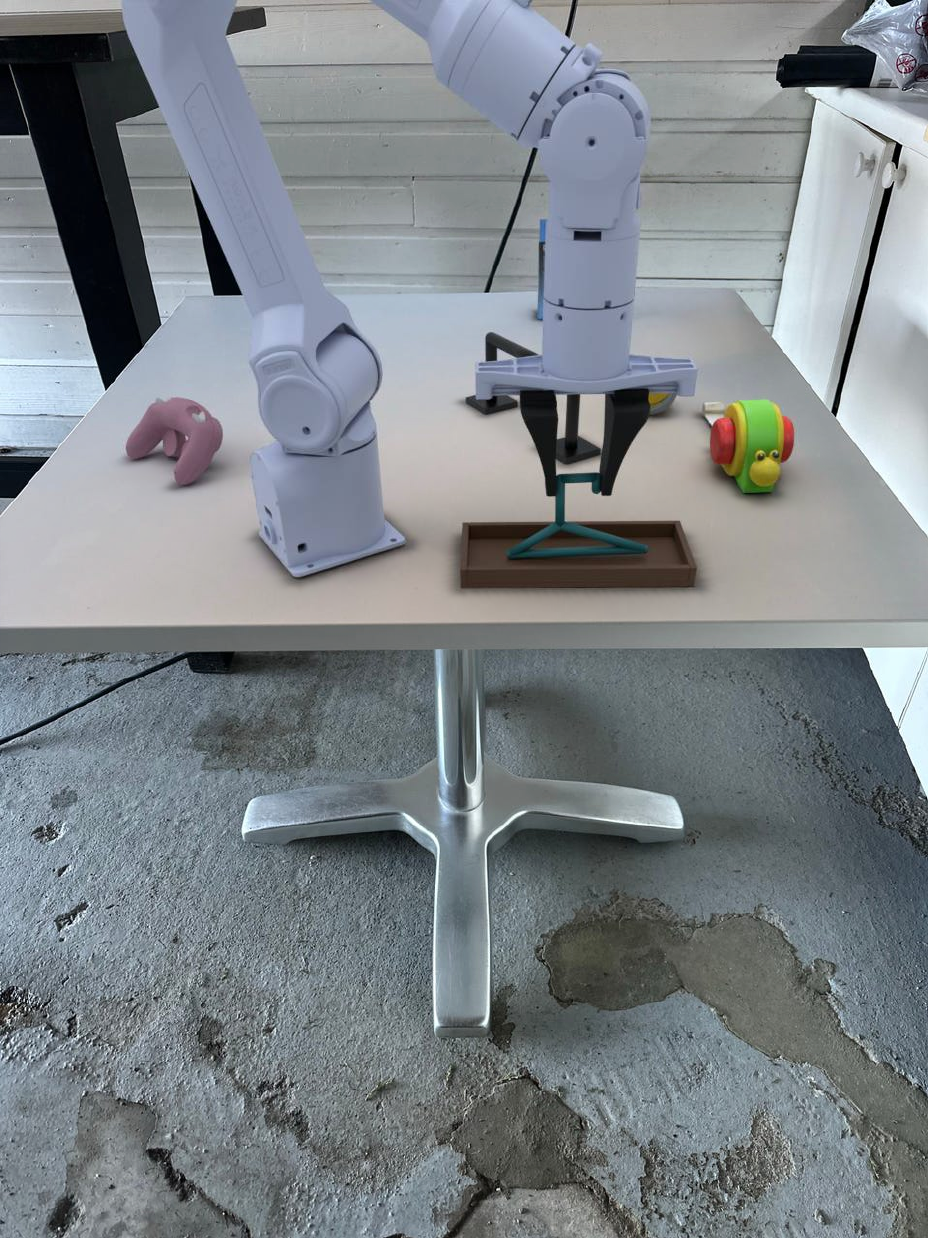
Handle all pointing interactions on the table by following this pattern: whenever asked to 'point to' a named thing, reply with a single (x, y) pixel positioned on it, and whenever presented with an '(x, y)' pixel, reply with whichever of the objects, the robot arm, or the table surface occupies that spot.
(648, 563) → the tray
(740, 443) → the toy measuring tape
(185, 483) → the video game controller
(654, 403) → the yellow tiered cone
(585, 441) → the rail
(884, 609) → the table surface
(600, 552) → the hanger
